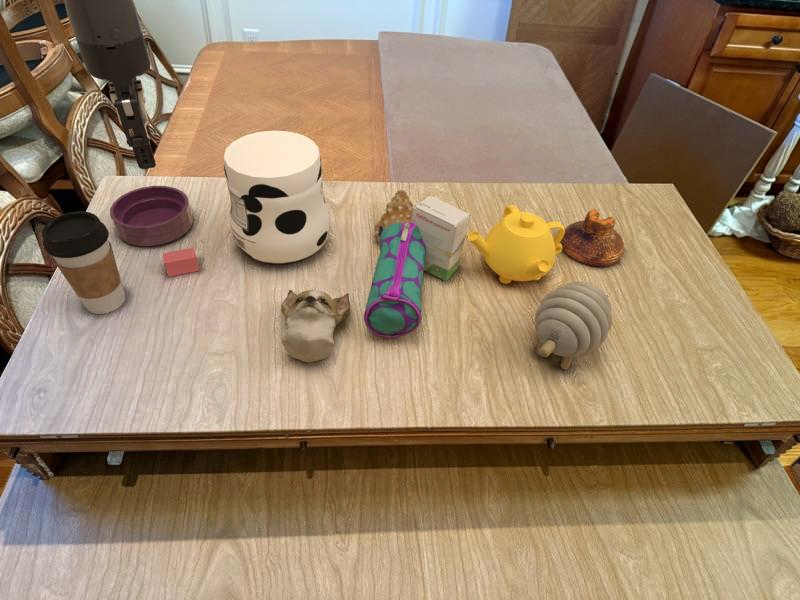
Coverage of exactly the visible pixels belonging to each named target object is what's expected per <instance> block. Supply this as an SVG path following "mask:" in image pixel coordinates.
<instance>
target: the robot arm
mask: <svg viewBox="0 0 800 600" xmlns="http://www.w3.org/2000/svg"><path fill="white" fill-rule="evenodd" d="M63 2H64V6H65V10H66V15H67V18H68V22H69V23H70V27H71V29H72V32H73V34H74V37H75V41H76V43H77V46H78V49H79V52H80V55H81V57H82V61H83V64H84V66H85V69H86V72H87V73H88V75H90V76H92V77H93V78H95V79H98V80H100V81H103V80H105V81H108V88H109V90H108V94H109V96H110V100H111V103H112V104H113V105H114V107H115V111H116V115H117V119H118V122H119V124H120V126H121V127H122V129H123V132H124V136H125V138H126V142H125V143H126V144H127V145H128V147H129V148H132V151H133V155H134V157H135V160H136V163H137V167H138V168H139V169H140V170H146V169H153V168H156V166H157V163H156V159H155V156H154V152H153V148H152V145H151V138H152V134H151V130H150V126H149V123H150V120H149V116H148V113H147V109H146V103H147V101H146V97H145V89H144V86H143V81H142V79H137V78H138V77H141V76H143V75H145V74H146V73H148V72H149V71H150V69H151V67H152V62H151V59H150V55H149V51H148V48H147V47H148V46H147V43H146V40H145V36H144V33H143V29H142V25H141V21H140V18H139V14H138V10H137V7H136V4H135V2H134V0H63Z"/></svg>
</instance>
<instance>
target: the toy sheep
mask: <svg viewBox="0 0 800 600" xmlns="http://www.w3.org/2000/svg"><path fill="white" fill-rule="evenodd" d="M609 297H610V296H609V295H608V294H606V293H605V292H604V291H603V290H602V289H600V288H599V287H598V286H596V285H594V284H592V283H590V282H587V281H572V282H569V283H567V284H564V285H561V286H559V287H558V288H556V289H554V290H553V291H551V292H549V293H548V294H547V295H545V296H544V297H543V298H542V300H541V302H540V303H539V306H538V307H537V310H536V312H535V316H534V326H535V333H536V336H537V339H538V341H539V343H538V345H537V348H536V351H535V352H536V354H537V355H538V356H540V357H542V358H548V357H549V356H550V355H551V353H552V354H553V355H555V356H559V357H562V360H561V362H560V368H561V369H562V370H568V369H570V366H571V364H572V361H573V358H575V357H583V356H587V355H589V354H591V353H593V352H594V351H595V350H596V349H598V348H599V347H600V346H601V345H603V344H604V343H605V341H606V340H607V338H608V335H609V332H610V330H611V329H612V324H613V317H612V304H611V302H610V299H609Z"/></svg>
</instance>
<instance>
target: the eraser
mask: <svg viewBox="0 0 800 600" xmlns="http://www.w3.org/2000/svg"><path fill="white" fill-rule="evenodd" d="M162 258H163V264H164V267H165V271H166V273H167V276H168V278H171V277H175V276H180V275H184V274H189V273H195V272H199V271H200V266H199V263H198V258H197V254H196V250H195V247H189V248H188V247H187V248H183V249H178V250H173V251H168V252H163V253H162Z"/></svg>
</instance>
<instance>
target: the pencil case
mask: <svg viewBox="0 0 800 600" xmlns="http://www.w3.org/2000/svg"><path fill="white" fill-rule="evenodd" d="M382 230H383V231H382ZM378 237H379V238H380V241H379V242H378V244H379V255H378V257H377V262H376V265H375V269H374V273H373V276H372V280H371V285H370V289H369V292H368V297H367V301H366V305H365V310H364V314H363V321H364V324H365V326H366V328H367V329H368V330H369V331H370V332H371V333H372V334H374V335H375V336H378V337H381V338H385V339H397V338H400V337H404V336H406V335H408V334H411V333H412V332H414V331H416V330H417V329H418V328H419V327H420V326H421V323H422V319H423V316H422V295H423V283H424V282H423V281H424V270H423V269H424V265H425V256H426V246H425V244H424V242H423V240H422V236H421V235H420V231H419V228H418V226H417V225H416V224H414V223H413V222H411V223H409V222H405V223H403V222H400V223H393V224H391V225H389V226H388V227H387V228H385V229H384V227H382V226H380V227H379V230H378Z"/></svg>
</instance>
